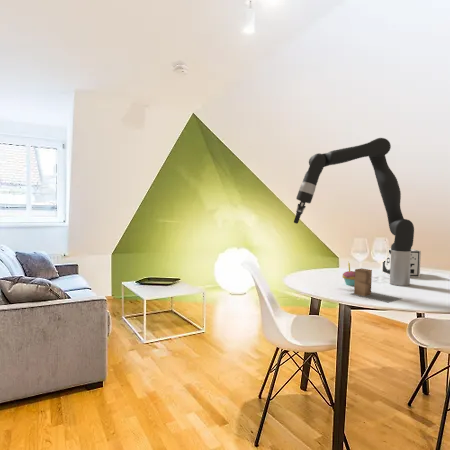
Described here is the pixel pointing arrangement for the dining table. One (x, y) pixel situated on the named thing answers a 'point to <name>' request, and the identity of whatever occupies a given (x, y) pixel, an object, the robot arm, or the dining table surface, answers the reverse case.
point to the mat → (380, 297)
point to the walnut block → (363, 282)
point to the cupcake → (349, 277)
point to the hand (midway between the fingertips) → (295, 222)
